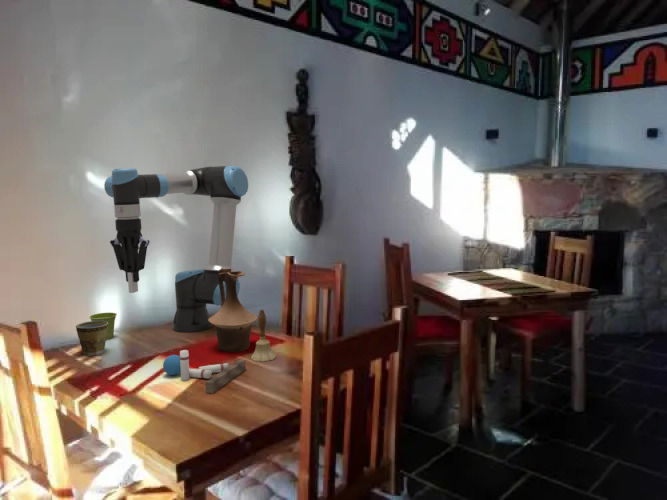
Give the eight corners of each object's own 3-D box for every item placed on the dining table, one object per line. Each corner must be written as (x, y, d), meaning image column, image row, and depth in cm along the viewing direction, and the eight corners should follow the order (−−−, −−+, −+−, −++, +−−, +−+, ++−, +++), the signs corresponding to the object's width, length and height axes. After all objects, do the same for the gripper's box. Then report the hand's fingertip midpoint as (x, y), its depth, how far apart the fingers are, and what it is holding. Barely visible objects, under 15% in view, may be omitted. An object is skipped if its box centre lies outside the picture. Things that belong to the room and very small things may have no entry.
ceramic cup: (116, 351, 184) (114, 322, 183) (90, 359, 175) (88, 329, 174) (92, 345, 191) (90, 318, 189) (66, 353, 182) (64, 324, 181)
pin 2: (199, 364, 159) (227, 361, 162) (198, 370, 161) (227, 366, 164) (200, 371, 158) (228, 367, 160) (199, 376, 159) (228, 372, 162)
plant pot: (99, 342, 194) (97, 319, 193) (86, 338, 200) (84, 316, 199) (123, 337, 201) (121, 314, 200) (109, 333, 207) (108, 311, 206)
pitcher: (199, 347, 187) (195, 268, 184) (239, 337, 199) (237, 263, 196) (227, 358, 175) (224, 274, 171) (268, 347, 186) (266, 268, 183)
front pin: (185, 366, 159) (211, 368, 157) (187, 373, 160) (212, 375, 157) (181, 370, 157) (207, 373, 154) (182, 378, 158) (208, 380, 155)
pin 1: (184, 377, 157) (182, 349, 156) (191, 378, 156) (190, 350, 155) (179, 380, 155) (177, 352, 154) (186, 381, 154) (185, 352, 153)
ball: (177, 349, 162) (190, 359, 160) (171, 366, 164) (185, 376, 161) (161, 353, 157) (175, 363, 155) (156, 370, 159) (169, 381, 156)
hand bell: (245, 359, 173) (244, 311, 171) (260, 352, 180) (259, 306, 179) (266, 363, 169) (265, 314, 167) (281, 355, 177) (279, 308, 175)
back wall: (239, 368, 164) (239, 359, 164) (245, 369, 164) (245, 359, 163) (205, 392, 145) (205, 382, 145) (212, 393, 145) (212, 382, 144)
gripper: (102, 219, 165) (108, 293, 168) (138, 219, 161) (144, 295, 165) (117, 217, 172) (123, 288, 175) (153, 217, 169) (158, 290, 172)
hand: (133, 291), depth 170 cm, fingers closed
